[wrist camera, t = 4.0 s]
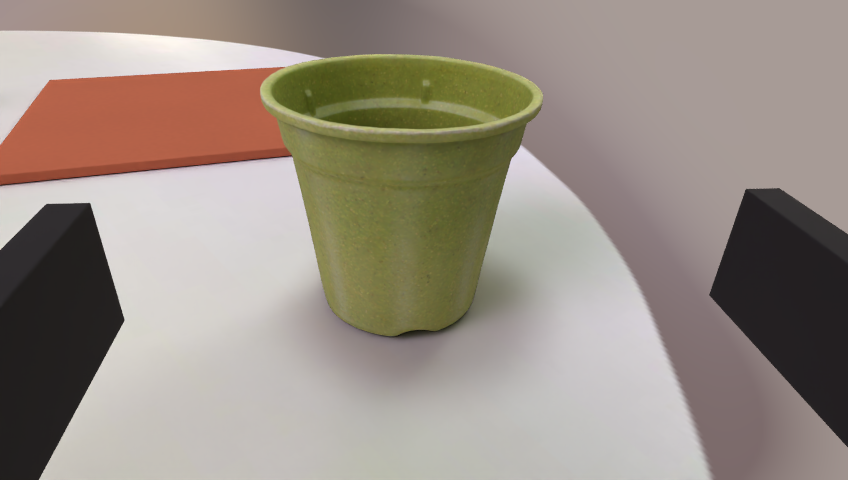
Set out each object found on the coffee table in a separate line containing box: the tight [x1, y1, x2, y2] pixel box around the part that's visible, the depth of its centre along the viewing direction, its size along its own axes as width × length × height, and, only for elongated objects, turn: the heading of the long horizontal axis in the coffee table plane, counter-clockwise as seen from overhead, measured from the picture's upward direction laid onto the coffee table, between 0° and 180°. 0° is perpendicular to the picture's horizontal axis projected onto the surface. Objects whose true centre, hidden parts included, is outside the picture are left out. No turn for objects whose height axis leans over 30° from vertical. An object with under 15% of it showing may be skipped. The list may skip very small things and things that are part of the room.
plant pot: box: [260, 54, 543, 336], centre depth 22 cm, size 9×9×9 cm
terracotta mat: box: [0, 67, 292, 185], centre depth 42 cm, size 20×20×1 cm
